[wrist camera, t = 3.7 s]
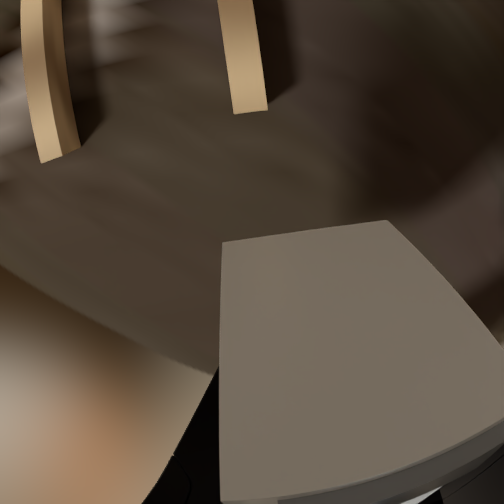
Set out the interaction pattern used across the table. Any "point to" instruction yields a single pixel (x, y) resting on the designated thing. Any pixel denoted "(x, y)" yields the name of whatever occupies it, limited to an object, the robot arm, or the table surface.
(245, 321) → the block
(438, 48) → the table surface
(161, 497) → the robot arm
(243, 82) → the light brown u-shaped piece
